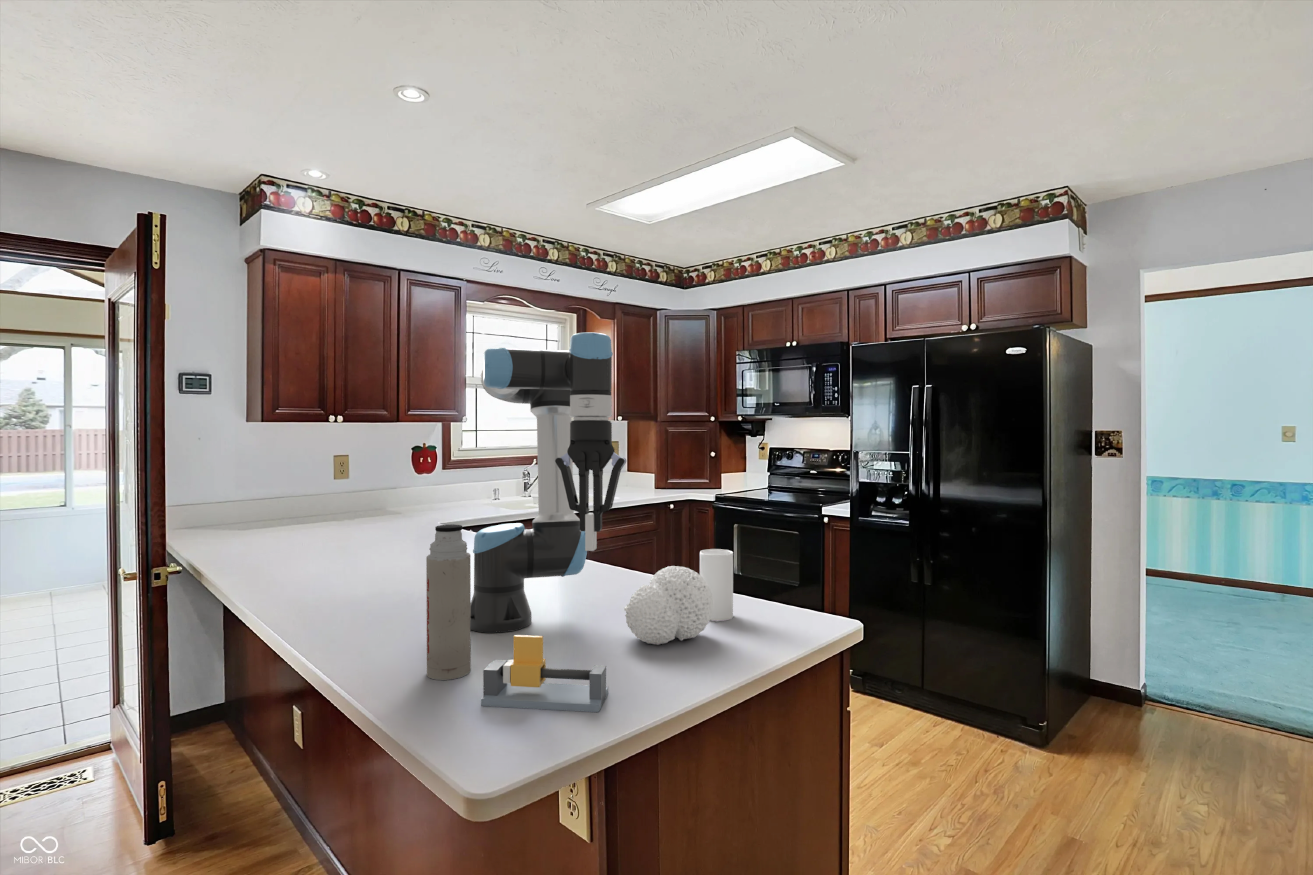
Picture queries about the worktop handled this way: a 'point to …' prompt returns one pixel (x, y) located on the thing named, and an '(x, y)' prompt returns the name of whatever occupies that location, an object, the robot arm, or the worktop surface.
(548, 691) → the rail rig
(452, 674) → the thermos bottle
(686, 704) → the worktop surface
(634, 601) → the white coral
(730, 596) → the cup
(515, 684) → the yellow sliding carriage
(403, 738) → the worktop surface
